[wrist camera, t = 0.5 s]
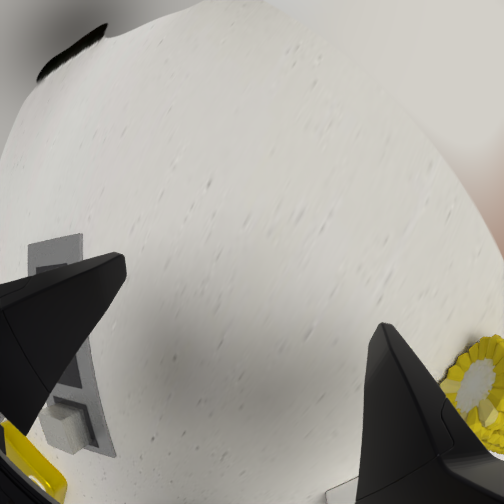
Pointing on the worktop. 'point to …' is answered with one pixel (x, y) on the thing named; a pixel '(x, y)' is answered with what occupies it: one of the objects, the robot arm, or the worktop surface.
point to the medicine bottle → (343, 493)
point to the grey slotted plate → (80, 368)
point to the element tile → (33, 463)
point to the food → (480, 390)
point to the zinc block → (65, 427)
